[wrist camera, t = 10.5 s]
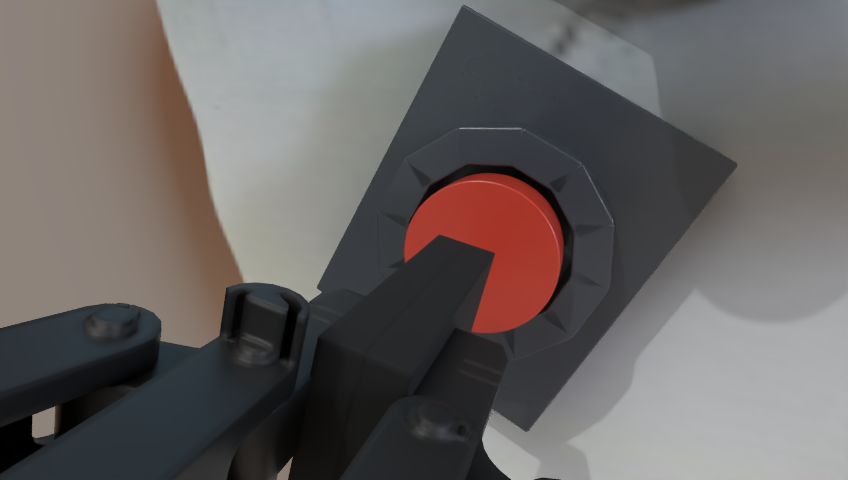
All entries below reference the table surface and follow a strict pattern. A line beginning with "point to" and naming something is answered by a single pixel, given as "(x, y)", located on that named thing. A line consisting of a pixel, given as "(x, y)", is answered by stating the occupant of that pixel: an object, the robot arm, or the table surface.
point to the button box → (547, 173)
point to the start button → (497, 243)
